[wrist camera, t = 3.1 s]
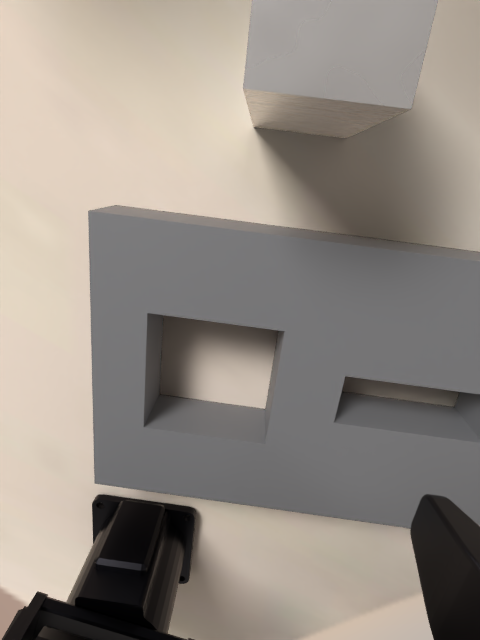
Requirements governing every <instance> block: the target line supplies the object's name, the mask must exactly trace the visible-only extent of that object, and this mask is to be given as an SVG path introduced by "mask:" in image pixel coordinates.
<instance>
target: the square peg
mask: <svg viewBox="0 0 480 640" xmlns="http://www.w3.org/2000/svg"><path fill="white" fill-rule="evenodd" d="M437 3H438V0H252V8H251V17H250V27H249V37H248V46H247V56H246V65H245V75H244V84H243V90H244V94H245V98H246V101H247V105H248V109H249V112H250V116H251V120H252V123H253V127H258V128H266V129H274V130H282V131H290V132H298V133H306V134H314V135H322V136H330V137H338V138H348V137H350V136H352V135H355V134H357V133H359V132H361V131H364V130H366V129H368V128H370V127H373V126H375V125H377V124H379V123H381V122H384V121H386V120H388V119H390V118H393V117H395V116H397V115H399V114H402V113H404V112H406V111H408V110H410V109H411V108H412V104H413V100H414V96H415V92H416V88H417V84H418V80H419V76H420V72H421V68H422V64H423V60H424V56H425V52H426V48H427V44H428V39H429V35H430V31H431V27H432V23H433V19H434V15H435V11H436V7H437Z"/></svg>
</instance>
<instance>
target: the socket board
mask: <svg viewBox="0 0 480 640" xmlns="http://www.w3.org/2000/svg"><path fill="white" fill-rule="evenodd" d="M88 216H89V259H90V302H91V345H92V388H93V431H94V473H95V484H102V485H109V486H116V487H123V488H130V489H137V490H144V491H151V492H158V493H165V494H172V495H179V496H186V497H193V498H200V499H207V500H214V501H221V502H229V503H236V504H243V505H250V506H257V507H264V508H271V509H278V510H285V511H292V512H299V513H306V514H313V515H320V516H327V517H334V518H341V519H348V520H355V521H362V522H369V523H376V524H383V525H390V526H397V527H405V528H411V523H412V520H413V518H414V515H415V513H416V510H417V507H418V505H419V502H420V500H421V498H422V496H424V495H425V494H432V495H439V496H444V497H447V498H448V499H450V500H451V501H452V502H453V503H454V504H455V505H457V506H458V507H459V508H460V509H461V510H462V511H463V512H464V513H466V514H467V515H468V516H469V517H470V518H471V519H472V520H473V521H474V522H476V523H477V524H478V525H479V526H480V252H475V251H468V250H460V249H452V248H444V247H437V246H429V245H421V244H413V243H406V242H398V241H390V240H382V239H374V238H367V237H359V236H351V235H343V234H336V233H328V232H320V231H312V230H305V229H297V228H289V227H281V226H274V225H266V224H258V223H250V222H242V221H235V220H227V219H219V218H211V217H204V216H196V215H188V214H180V213H173V212H165V211H157V210H149V209H141V208H134V207H126V206H118V205H114V206H110V207H105V208H100V209H95V210H90V211H88ZM163 315H166V316H174V317H181V318H188V319H196V320H203V321H211V322H218V323H226V324H233V325H241V326H248V327H256V328H263V329H271V330H278V336H277V342H276V348H275V354H274V360H273V366H272V372H271V378H270V384H269V390H268V396H267V402H266V408H265V409H260V408H253V407H246V406H239V405H231V404H224V403H217V402H209V401H202V400H195V399H188V398H180V397H173V396H166V395H159V393H160V373H161V353H162V332H163ZM345 376H347V377H355V378H362V379H369V380H377V381H384V382H391V383H399V384H406V385H414V386H421V387H428V388H436V389H443V390H451V391H458V392H460V393H459V396H458V398H457V401H456V404H455V406H454V407H450V406H442V405H435V404H428V403H420V402H413V401H406V400H398V399H391V398H384V397H376V396H369V395H362V394H354V393H347V392H342V388H343V384H344V380H345Z"/></svg>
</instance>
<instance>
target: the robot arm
mask: <svg viewBox="0 0 480 640" xmlns="http://www.w3.org/2000/svg"><path fill="white" fill-rule="evenodd" d="M92 514H93V546H92V548H91V550H90V552H89V555H88V557H87V559H86V561H85V563H84V565H83V567H82V570H81V572H80V574H79V576H78V578H77V580H76V582H75V585H74V587H73V589H72V591H71V593H70V595H69V597H68V600H67V602H63V601H60V600H56V599H53V598H50V597H47V596H48V594H44V593H41V592H37V593H36V595H35V596H34V598H33V599H32V601H31V602H30V604H29V606H28V607H26V606H25V607H24V608H23V609H21V610H19V611H18V612H17V614H16V616H15V617H14V619H13V621H12V623H11V625H10V626H9V628H8V630H7V631H6V633H5V635H4V637H3V638H2V640H187V639H183V638H180V637H177V636H174V635H170V634H168V630H169V625H170V620H171V616H172V611H173V606H174V602H175V597H176V592H177V588H178V583H180V584H184V583H187V582H188V580H189V576H190V568H191V558H192V549H193V539H194V529H195V519H196V511H195V510H194V509H193V508H191V507H186V506H179V505H172V504H165V503H158V502H151V501H144V500H137V499H130V498H123V497H116V496H109V495H97V496H96V497H95V499H94V501H93V504H92ZM187 515H189V516H187ZM411 539H412V544H413V549H414V554H415V558H416V563H417V568H418V573H419V578H420V583H421V587H422V592H423V597H424V602H425V606H426V611H427V615H428V620H429V623H430V628H431V631H432V635H433V638H434V640H480V526H479V525H478V524H477V523H476V522H474V521H473V520H472V519H471V518H470V517H469V516H468V515H467V514H466V513H464V512H463V511H462V510H461V509H460V508H459V507H458V506H457V505H455V504H454V503H453V502H452V501H451V500H450V499H448V498H447V497H444V496H439V495H432V494H425V495H424V496H422V498H421V500H420V502H419V505H418V507H417V510H416V513H415V515H414V518H413V520H412V523H411ZM188 640H194V639H191V638H188Z"/></svg>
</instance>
